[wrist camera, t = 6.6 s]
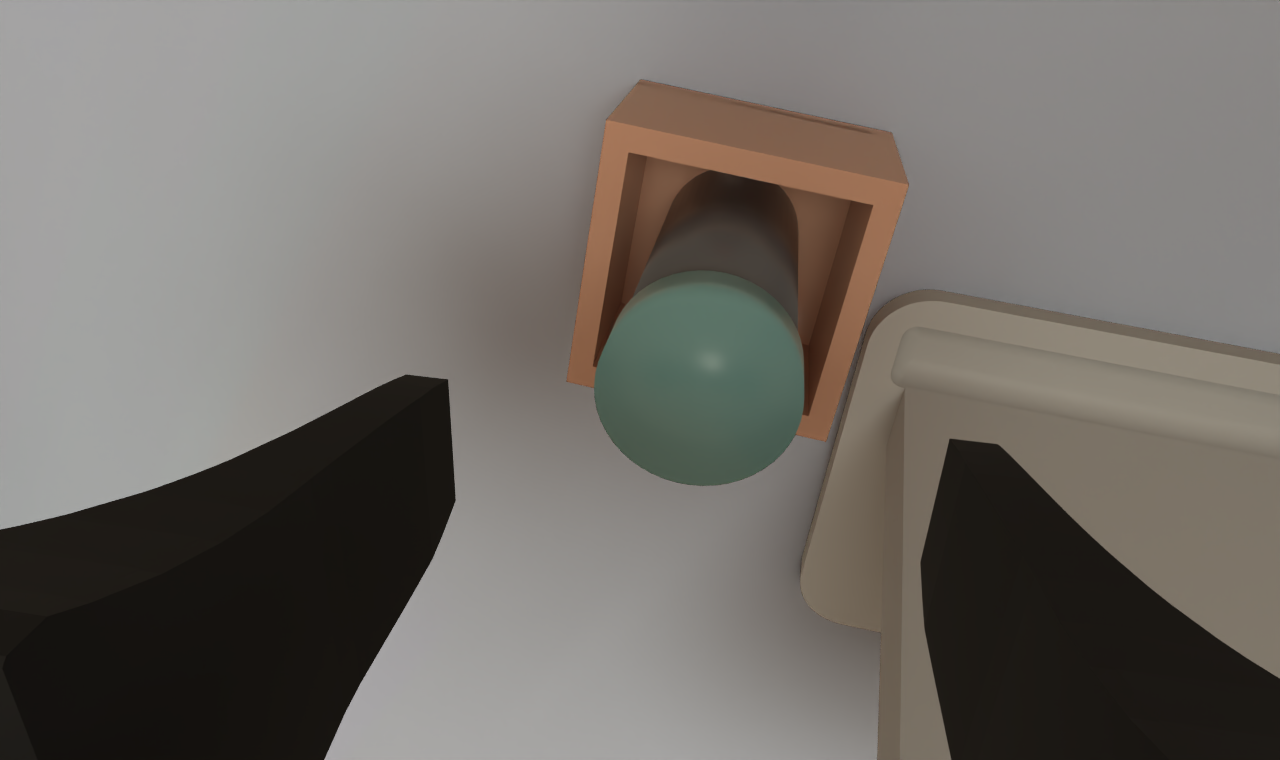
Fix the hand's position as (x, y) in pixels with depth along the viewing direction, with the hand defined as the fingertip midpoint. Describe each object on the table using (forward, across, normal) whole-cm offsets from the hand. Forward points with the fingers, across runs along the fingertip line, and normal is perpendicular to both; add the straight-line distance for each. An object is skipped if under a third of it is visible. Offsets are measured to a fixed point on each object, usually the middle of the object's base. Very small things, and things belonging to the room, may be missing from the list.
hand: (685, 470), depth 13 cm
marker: (+10, 0, 0) cm, 10 cm away
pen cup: (+10, 0, 0) cm, 10 cm away
